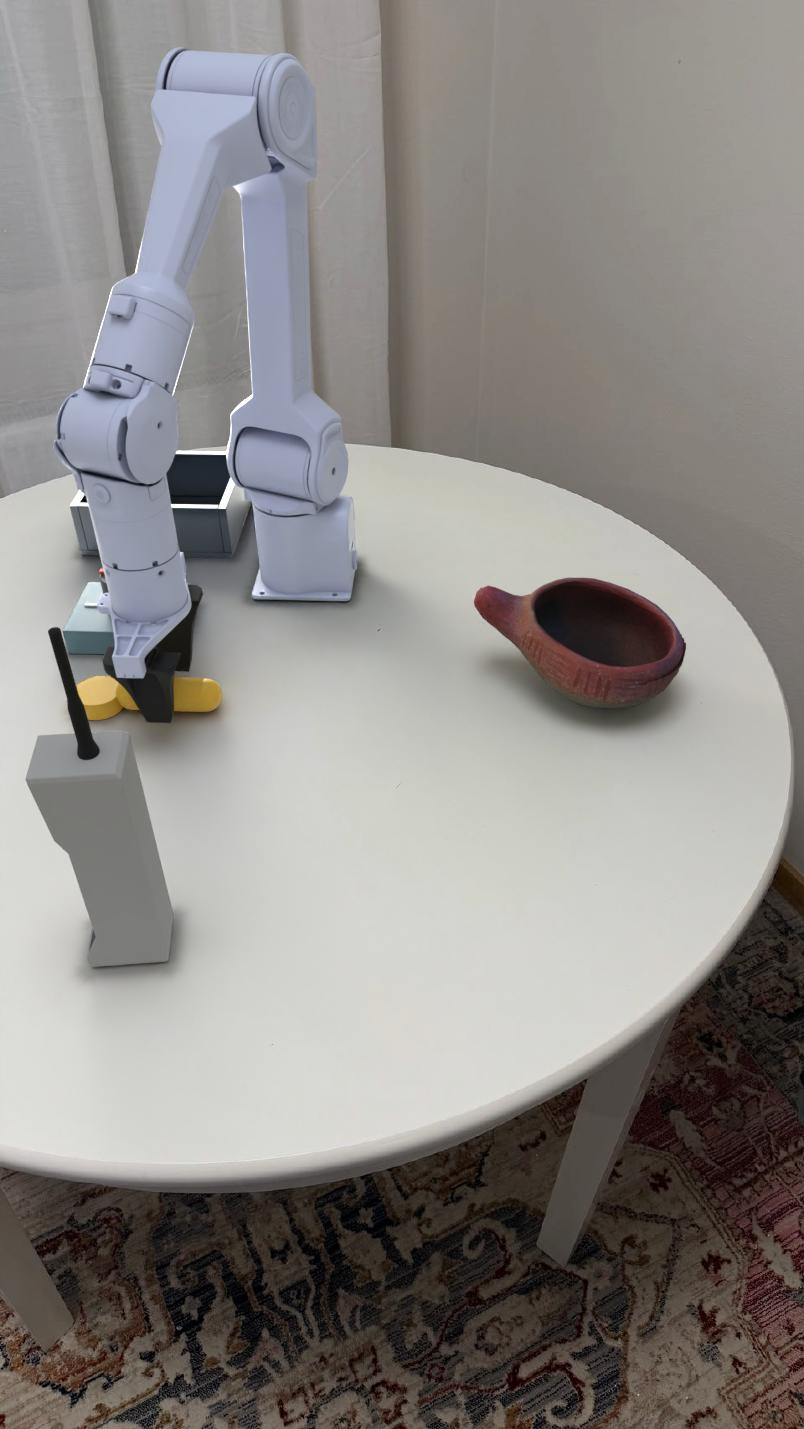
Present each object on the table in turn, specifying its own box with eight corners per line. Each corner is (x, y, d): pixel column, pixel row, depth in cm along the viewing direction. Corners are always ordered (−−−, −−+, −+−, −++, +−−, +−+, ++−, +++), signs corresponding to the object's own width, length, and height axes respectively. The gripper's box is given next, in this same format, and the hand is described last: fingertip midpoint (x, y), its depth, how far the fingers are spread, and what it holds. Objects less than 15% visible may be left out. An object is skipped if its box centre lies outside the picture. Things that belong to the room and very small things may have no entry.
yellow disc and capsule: (228, 693, 85) (224, 667, 84) (219, 724, 82) (214, 697, 80) (84, 689, 86) (77, 663, 84) (70, 719, 83) (62, 693, 81)
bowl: (638, 632, 91) (651, 556, 86) (697, 722, 82) (716, 642, 77) (467, 655, 89) (470, 578, 84) (507, 750, 79) (513, 670, 74)
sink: (253, 498, 112) (247, 451, 108) (232, 558, 102) (225, 508, 98) (114, 496, 112) (104, 449, 109) (81, 555, 103) (69, 506, 99)
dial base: (197, 605, 96) (193, 581, 94) (178, 657, 89) (173, 632, 88) (94, 603, 96) (88, 579, 94) (67, 654, 90) (60, 630, 88)
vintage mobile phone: (98, 922, 67) (-2, 610, 51) (174, 917, 67) (98, 604, 51) (90, 969, 64) (-20, 654, 48) (169, 963, 64) (87, 648, 48)
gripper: (113, 502, 80) (143, 641, 89) (55, 604, 69) (96, 751, 78) (200, 504, 80) (222, 642, 88) (157, 606, 69) (186, 753, 77)
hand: (169, 693), depth 83 cm, fingers open, 6 cm apart
